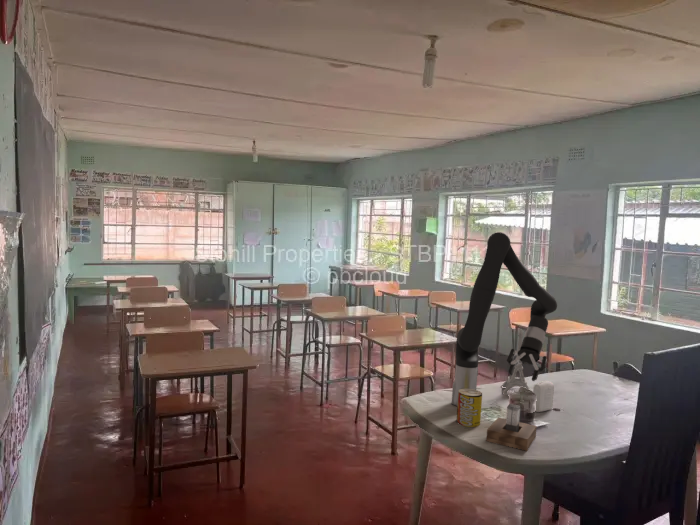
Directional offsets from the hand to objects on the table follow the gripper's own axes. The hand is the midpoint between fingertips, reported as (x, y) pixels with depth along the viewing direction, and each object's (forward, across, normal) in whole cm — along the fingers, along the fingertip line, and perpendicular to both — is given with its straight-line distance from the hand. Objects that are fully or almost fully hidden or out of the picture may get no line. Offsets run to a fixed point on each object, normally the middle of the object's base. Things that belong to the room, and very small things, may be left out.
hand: (521, 377), depth 201 cm
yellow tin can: (+22, -15, +4) cm, 27 cm away
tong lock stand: (+24, +3, 0) cm, 24 cm away
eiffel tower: (-10, -14, +47) cm, 50 cm away
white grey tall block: (+23, +3, -1) cm, 23 cm away
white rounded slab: (-1, +3, +33) cm, 33 cm away
